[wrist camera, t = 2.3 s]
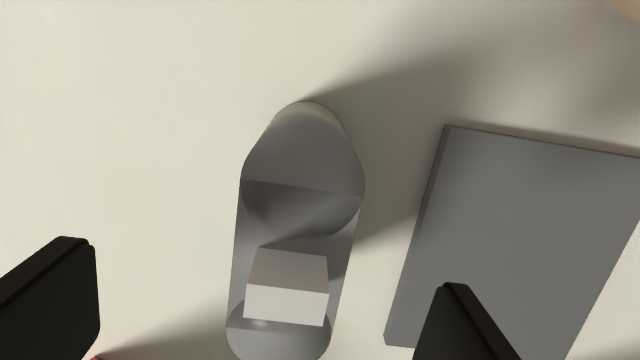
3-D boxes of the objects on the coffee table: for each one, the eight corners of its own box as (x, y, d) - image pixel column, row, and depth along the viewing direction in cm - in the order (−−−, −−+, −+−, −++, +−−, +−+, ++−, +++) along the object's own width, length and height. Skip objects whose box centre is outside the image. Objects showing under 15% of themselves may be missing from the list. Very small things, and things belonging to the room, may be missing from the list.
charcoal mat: (654, 160, 18) (669, 164, 17) (553, 354, 23) (561, 364, 22) (445, 124, 17) (451, 127, 16) (383, 335, 22) (385, 345, 21)
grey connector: (350, 108, 17) (392, 153, 8) (318, 274, 20) (323, 429, 11) (272, 94, 16) (231, 127, 8) (251, 265, 20) (207, 418, 11)
